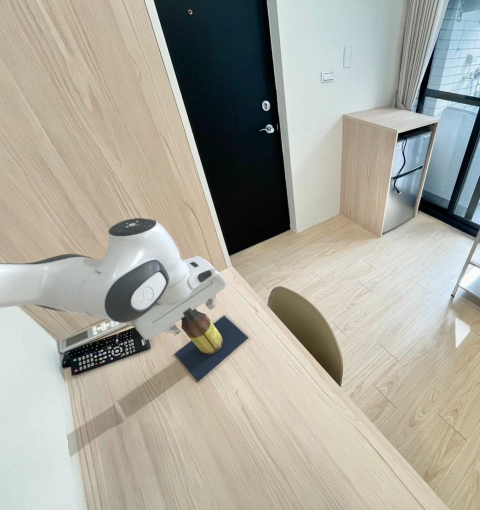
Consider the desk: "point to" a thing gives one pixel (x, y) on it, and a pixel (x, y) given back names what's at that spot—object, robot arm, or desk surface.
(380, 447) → the desk surface
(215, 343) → the sauce bottle
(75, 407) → the desk surface
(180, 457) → the desk surface
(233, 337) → the cloth
